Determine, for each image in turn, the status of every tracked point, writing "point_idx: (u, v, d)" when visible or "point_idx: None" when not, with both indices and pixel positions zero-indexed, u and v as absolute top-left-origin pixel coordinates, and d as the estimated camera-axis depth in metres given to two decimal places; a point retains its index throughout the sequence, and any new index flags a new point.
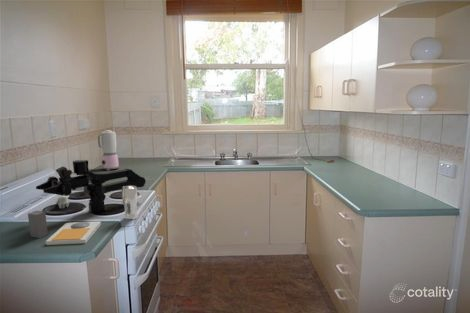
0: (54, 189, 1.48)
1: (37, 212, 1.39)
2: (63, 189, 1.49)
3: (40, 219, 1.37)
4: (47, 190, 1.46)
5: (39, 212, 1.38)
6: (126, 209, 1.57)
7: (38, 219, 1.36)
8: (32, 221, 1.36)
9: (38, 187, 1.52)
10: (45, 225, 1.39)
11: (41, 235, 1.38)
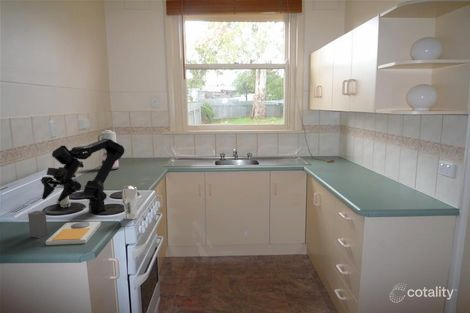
0: (65, 193, 1.44)
1: (37, 212, 1.39)
2: (73, 187, 1.45)
3: (40, 219, 1.37)
4: (61, 198, 1.43)
5: (39, 212, 1.38)
6: (126, 209, 1.57)
7: (38, 219, 1.36)
8: (32, 221, 1.36)
9: (44, 197, 1.46)
10: (45, 225, 1.39)
11: (41, 235, 1.38)
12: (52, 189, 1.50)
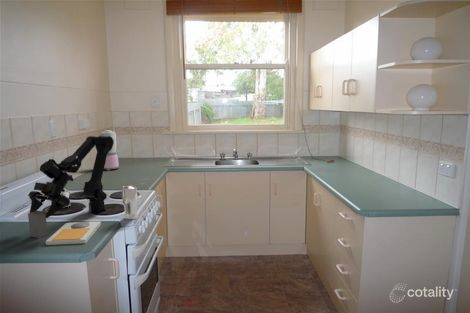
0: (53, 208, 1.38)
1: (37, 212, 1.39)
2: (61, 203, 1.40)
3: (40, 219, 1.37)
4: (48, 214, 1.37)
5: (39, 212, 1.38)
6: (126, 209, 1.57)
7: (38, 219, 1.36)
8: (32, 221, 1.36)
9: None
10: (45, 225, 1.39)
11: (41, 235, 1.38)
12: (40, 204, 1.45)
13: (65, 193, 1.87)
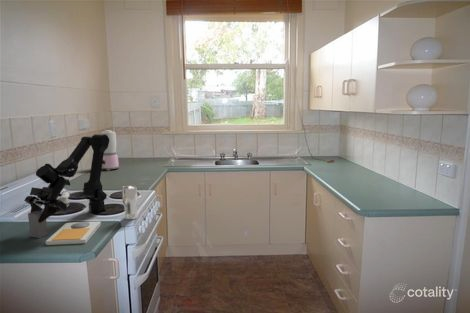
0: (46, 213, 1.38)
1: (37, 212, 1.39)
2: (54, 208, 1.39)
3: None
4: (41, 219, 1.36)
5: (39, 212, 1.38)
6: (126, 209, 1.57)
7: (38, 219, 1.36)
8: (32, 221, 1.36)
9: None
10: (45, 225, 1.39)
11: (41, 235, 1.38)
12: (40, 209, 1.43)
13: (65, 193, 1.87)
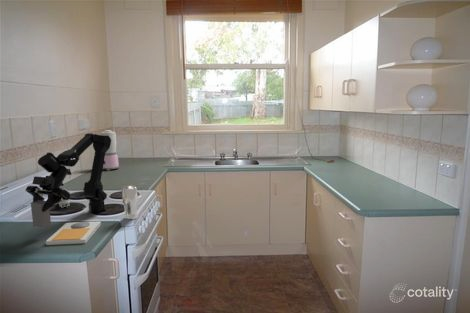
0: (50, 202, 1.36)
1: (40, 201, 1.37)
2: (58, 196, 1.38)
3: None
4: (45, 208, 1.35)
5: (42, 201, 1.36)
6: (126, 209, 1.57)
7: (41, 208, 1.34)
8: (36, 210, 1.35)
9: None
10: (48, 214, 1.38)
11: (45, 224, 1.36)
12: (42, 199, 1.41)
13: None
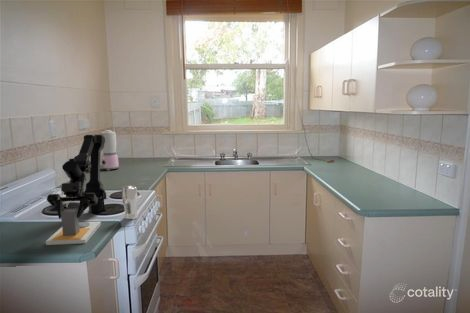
0: (82, 208, 1.36)
1: (68, 209, 1.35)
2: (89, 201, 1.39)
3: (75, 215, 1.35)
4: (79, 214, 1.35)
5: (71, 209, 1.35)
6: (126, 209, 1.57)
7: (74, 216, 1.34)
8: (67, 219, 1.33)
9: (60, 216, 1.34)
10: (78, 222, 1.37)
11: (76, 232, 1.36)
12: (63, 207, 1.38)
13: None
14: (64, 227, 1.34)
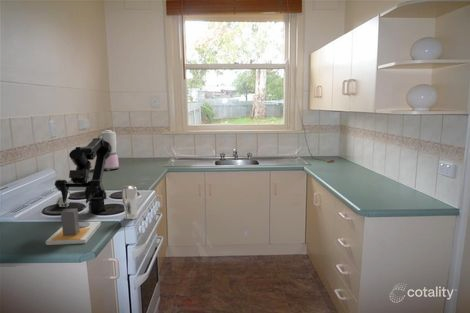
0: (91, 194, 1.45)
1: (68, 209, 1.35)
2: (97, 188, 1.47)
3: (75, 215, 1.35)
4: (88, 199, 1.44)
5: (71, 209, 1.35)
6: (126, 209, 1.57)
7: (74, 216, 1.34)
8: (67, 219, 1.33)
9: (65, 200, 1.42)
10: (78, 222, 1.37)
11: (76, 232, 1.36)
12: (67, 192, 1.46)
13: None
14: (64, 227, 1.34)
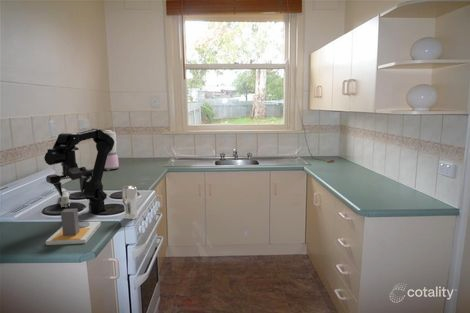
0: None
1: (68, 209, 1.35)
2: None
3: (75, 215, 1.35)
4: None
5: (71, 209, 1.35)
6: (126, 209, 1.57)
7: (74, 216, 1.34)
8: (67, 219, 1.33)
9: None
10: (78, 222, 1.37)
11: (76, 232, 1.36)
12: None
13: (65, 193, 1.87)
14: (64, 227, 1.34)
